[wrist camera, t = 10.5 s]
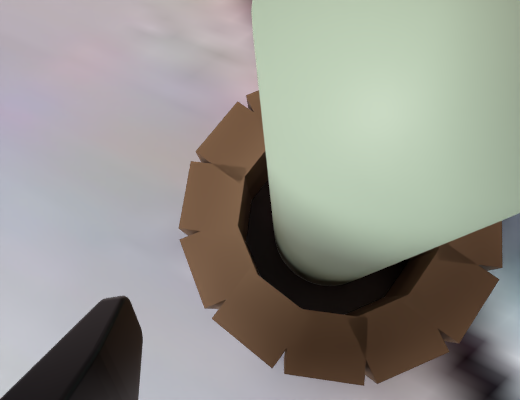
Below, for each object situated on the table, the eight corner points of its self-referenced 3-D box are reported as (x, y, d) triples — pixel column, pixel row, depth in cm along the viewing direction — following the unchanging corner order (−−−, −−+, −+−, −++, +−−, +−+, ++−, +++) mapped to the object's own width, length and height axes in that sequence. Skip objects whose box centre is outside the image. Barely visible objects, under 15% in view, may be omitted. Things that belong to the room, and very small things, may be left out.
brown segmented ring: (258, 412, 14) (252, 439, 11) (166, 167, 17) (142, 136, 14) (511, 301, 15) (567, 299, 12) (385, 78, 17) (406, 31, 14)
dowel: (300, 303, 15) (363, 282, 3) (258, 204, 16) (194, -75, 4) (401, 260, 15) (787, 98, 4) (352, 165, 16) (530, -199, 5)
